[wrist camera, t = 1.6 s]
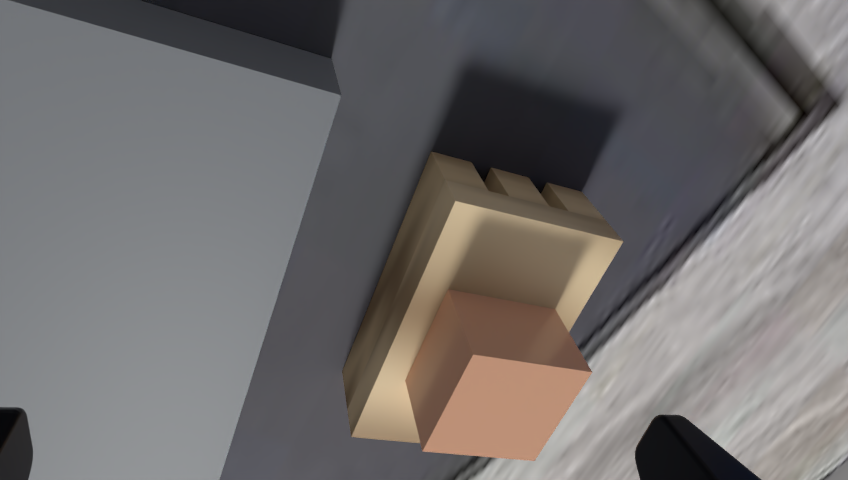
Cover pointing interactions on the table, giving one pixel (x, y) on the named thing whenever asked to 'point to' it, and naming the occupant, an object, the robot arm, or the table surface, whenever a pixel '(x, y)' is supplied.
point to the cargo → (493, 377)
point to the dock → (144, 227)
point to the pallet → (468, 274)
